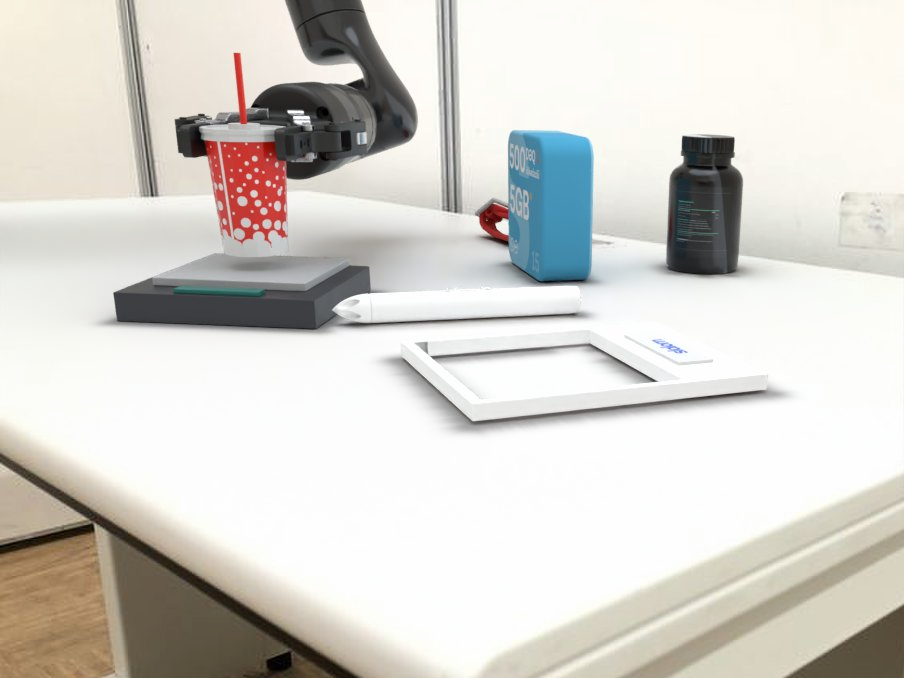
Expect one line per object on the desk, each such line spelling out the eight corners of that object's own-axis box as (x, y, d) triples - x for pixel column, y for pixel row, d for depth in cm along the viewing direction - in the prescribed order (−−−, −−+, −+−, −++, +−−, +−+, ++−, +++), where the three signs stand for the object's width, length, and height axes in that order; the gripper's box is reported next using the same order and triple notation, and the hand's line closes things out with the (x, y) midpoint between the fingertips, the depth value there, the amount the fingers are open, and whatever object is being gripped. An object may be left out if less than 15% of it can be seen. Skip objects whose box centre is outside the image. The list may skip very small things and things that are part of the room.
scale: (116, 320, 77) (111, 283, 76) (200, 284, 90) (196, 251, 89) (316, 329, 76) (313, 291, 75) (370, 290, 89) (369, 258, 88)
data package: (508, 261, 105) (507, 128, 100) (554, 260, 106) (554, 129, 102) (541, 284, 94) (542, 137, 90) (592, 282, 96) (594, 138, 92)
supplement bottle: (684, 259, 109) (690, 132, 105) (749, 267, 106) (757, 136, 102) (653, 269, 103) (657, 135, 99) (719, 277, 100) (727, 139, 96)
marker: (334, 328, 77) (332, 294, 76) (331, 321, 78) (329, 288, 78) (581, 316, 83) (581, 284, 82) (572, 310, 85) (572, 279, 84)
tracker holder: (589, 226, 120) (585, 215, 111) (578, 266, 121) (573, 258, 111) (481, 196, 120) (467, 182, 110) (471, 236, 120) (456, 225, 111)
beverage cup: (315, 249, 85) (300, 54, 79) (259, 262, 79) (239, 53, 74) (253, 242, 87) (234, 52, 82) (194, 253, 82) (170, 51, 76)
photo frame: (768, 371, 64) (472, 400, 57) (767, 389, 65) (472, 421, 57) (656, 319, 77) (400, 338, 69) (655, 335, 77) (400, 355, 70)
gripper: (220, 79, 92) (125, 84, 77) (391, 85, 92) (330, 91, 76) (229, 171, 95) (139, 194, 79) (395, 177, 95) (337, 201, 79)
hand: (233, 143), depth 78 cm, fingers closed on beverage cup, 6 cm apart
